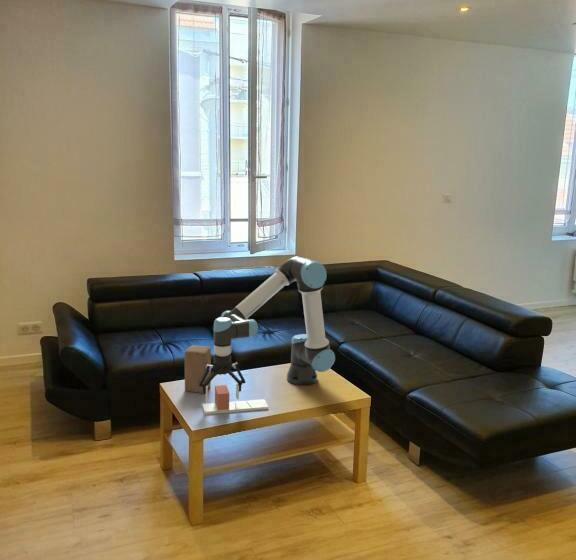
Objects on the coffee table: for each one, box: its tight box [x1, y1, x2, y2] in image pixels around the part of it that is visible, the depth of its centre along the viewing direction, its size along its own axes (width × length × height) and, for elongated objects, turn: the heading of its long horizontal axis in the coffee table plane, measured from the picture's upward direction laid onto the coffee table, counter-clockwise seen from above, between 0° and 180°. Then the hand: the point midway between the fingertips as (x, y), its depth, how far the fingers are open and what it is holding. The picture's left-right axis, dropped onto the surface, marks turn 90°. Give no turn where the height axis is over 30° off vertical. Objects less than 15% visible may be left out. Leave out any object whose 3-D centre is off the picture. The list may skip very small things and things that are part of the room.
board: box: [202, 398, 269, 415], centre depth 255 cm, size 28×8×1 cm, turn 105°
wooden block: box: [184, 344, 212, 394], centre depth 272 cm, size 10×10×20 cm
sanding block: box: [214, 384, 230, 411], centre depth 253 cm, size 5×9×8 cm, turn 15°
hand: (222, 399), depth 253 cm, fingers open, 13 cm apart
